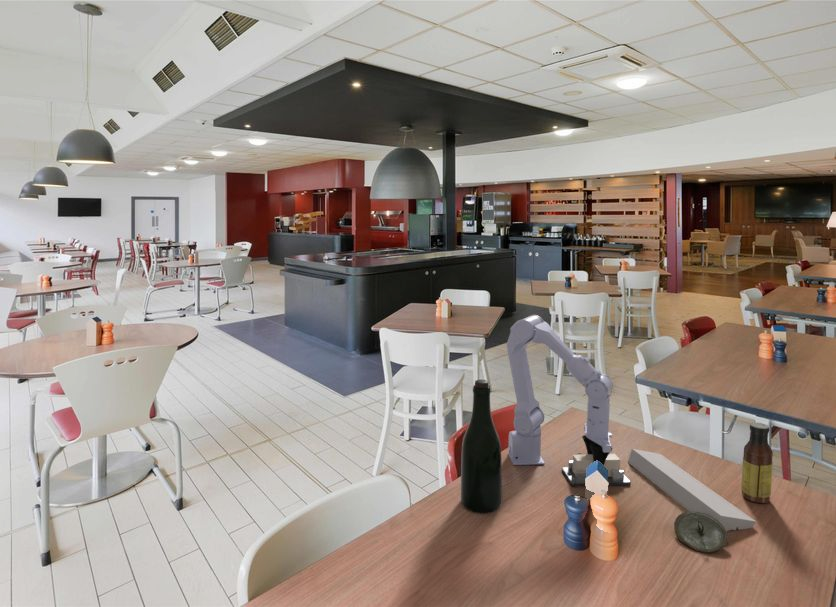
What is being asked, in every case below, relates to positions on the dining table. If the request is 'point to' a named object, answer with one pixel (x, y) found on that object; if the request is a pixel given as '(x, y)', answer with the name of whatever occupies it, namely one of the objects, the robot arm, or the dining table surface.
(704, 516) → the lid
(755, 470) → the sauce bottle
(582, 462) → the cream rectangular block
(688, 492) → the long grey wedge ramp
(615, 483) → the rack
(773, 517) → the dining table surface
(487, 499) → the dark green wine bottle
